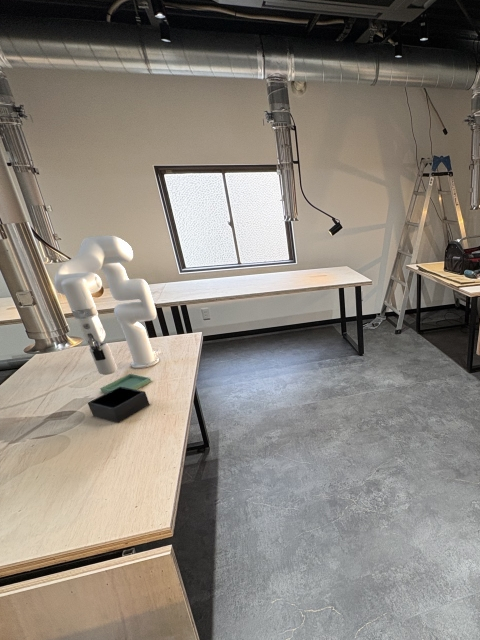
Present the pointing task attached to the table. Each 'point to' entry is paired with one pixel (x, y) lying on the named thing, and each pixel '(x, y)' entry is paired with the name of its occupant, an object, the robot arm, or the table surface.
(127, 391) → the open box
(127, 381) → the tray
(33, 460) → the table surface
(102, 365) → the beverage can
